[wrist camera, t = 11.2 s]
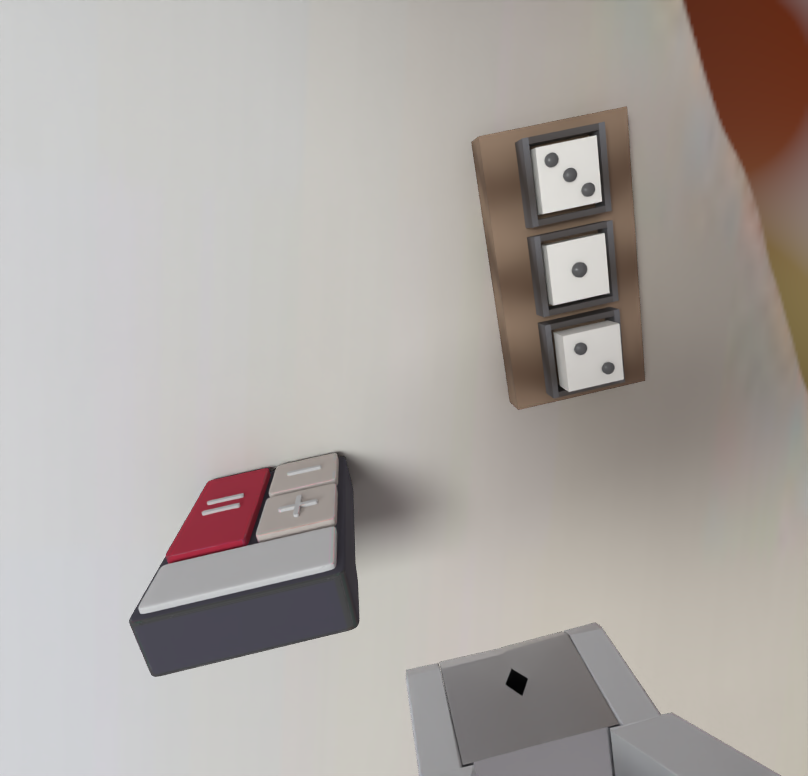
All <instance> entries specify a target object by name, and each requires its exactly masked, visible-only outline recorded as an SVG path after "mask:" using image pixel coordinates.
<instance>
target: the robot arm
mask: <svg viewBox="0 0 808 776" xmlns="http://www.w3.org/2000/svg"><path fill="white" fill-rule="evenodd" d="M439 663H440V667H439ZM439 663H436V664H431V665H427V666H422V667H418V668H413V669H408V670H406V684H407V691H408V698H409V706H410V713H411V720H412V728H413V735H414V742H415V749H416V757H417V764H418V771H419V776H781V775H779V774H778V773H776V772H774V771H772V770H771V769H769V768H767V767H766V766H764V765H762V764H760V763H759V762H757V761H755V760H753V759H752V758H750V757H748V756H747V755H745V754H743V753H741V752H740V751H738V750H736V749H734V748H733V747H731V746H729V745H728V744H726V743H724V742H722V741H721V740H719V739H717V738H715V737H714V736H712V735H710V734H709V733H707V732H705V731H703V730H702V729H700V728H698V727H696V726H695V725H693V724H691V723H690V722H688V721H686V720H684V719H683V718H681V717H679V716H677V715H676V714H674V713H667V714H662V715H661V714H660V712H659V711H658V709H657V708H656V706H655V705H654V703H653V702H652V700H651V699H650V697H649V696H648V694H647V693H646V691H645V690H644V689H643V687H642V686H641V684H640V683H639V681H638V680H637V678H636V677H635V675H634V674H633V672H632V671H631V669H630V668H629V666H628V665H627V663H626V662H625V660H624V659H623V658H622V656H621V655H620V653H619V652H618V650H617V649H616V647H615V646H614V644H613V643H612V641H611V640H610V638H609V637H608V635H607V634H606V632H605V631H604V630H603V628H602V627H601V626H600V625H598V624H597V623H596V622H595V623H591V624H587V625H584V626H580V627H576V628H572V629H569V630H565V631H564V632H562V631H561V632H557V633H554V634H550V635H546V636H542V637H538V638H535V639H531V640H527V641H523V642H520V643H516V644H512V645H508V646H504V647H501V648H499V649H494V650H490V651H485V652H481V653H476V654H472V655H468V656H463V657H459V658H454V659H450V660H445V661H441V662H439ZM440 668H441V671H440ZM441 673H442V675H441ZM442 678H443V680H442ZM443 682H444V684H443ZM444 687H445V688H444ZM445 691H446V693H445ZM446 696H447V697H446ZM447 700H448V701H447ZM449 709H450V710H449Z"/></svg>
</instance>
